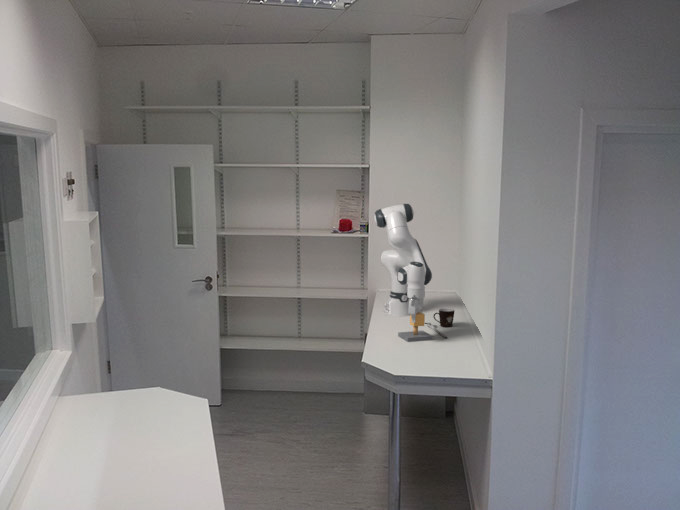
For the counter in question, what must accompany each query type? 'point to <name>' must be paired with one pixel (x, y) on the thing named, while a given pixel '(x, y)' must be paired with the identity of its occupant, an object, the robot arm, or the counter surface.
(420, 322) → the tan wooden cube
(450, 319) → the coffee mug
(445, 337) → the caliper
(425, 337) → the flat gray plate
